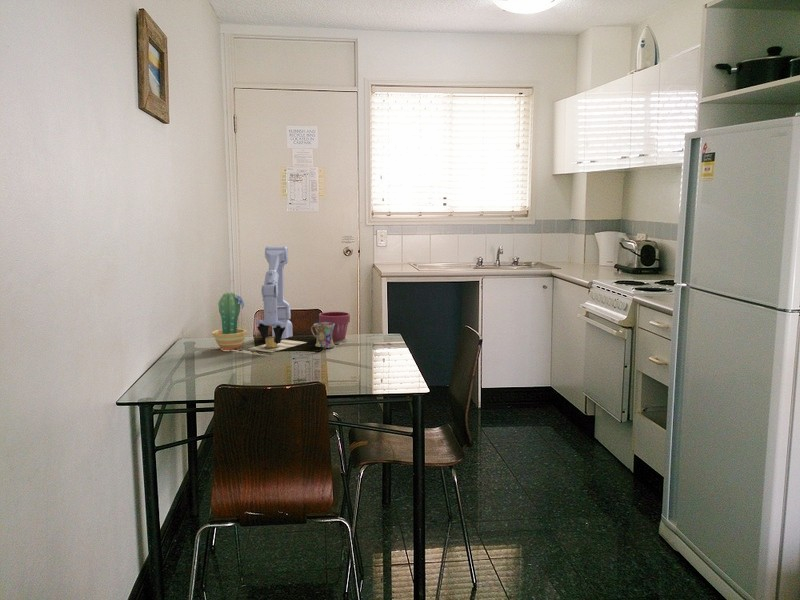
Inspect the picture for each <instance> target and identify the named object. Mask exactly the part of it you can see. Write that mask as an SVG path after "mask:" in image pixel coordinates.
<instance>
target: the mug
mask: <svg viewBox="0 0 800 600" xmlns="http://www.w3.org/2000/svg"><path fill="white" fill-rule="evenodd" d="M334 325H335V324H334V323H330V322H321V323H320V322H315V323H313V325H312V326H311V328H310V331H311V333H312V335H313V336H314V338H316V341H315V342H316V343H315V344H314V346H315V347H317V348H318V347H319V348H321V350H326V348H328V349H331V348H334V347H335V343H334V340H332V332H333V328H334ZM313 328H314V330H315V333H314V330H313Z"/></svg>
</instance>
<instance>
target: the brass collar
mask: <svg viewBox="0 0 800 600" xmlns="http://www.w3.org/2000/svg"><path fill="white" fill-rule="evenodd" d="M269 338H272V339H269ZM265 344H266V347H267V348H275V347H278V344H276V340H275V337H272V336H268V337H266V342H265Z"/></svg>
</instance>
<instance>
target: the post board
mask: <svg viewBox="0 0 800 600" xmlns="http://www.w3.org/2000/svg"><path fill="white" fill-rule="evenodd" d="M269 339H272V338H269ZM307 343H308V342H307V341H300V340H290V339H281V342H280V343H278V347H275V348H267V347H266V343H265V344H261V345H257V346H253V347H249V348H248V349H247V351H251V352H250V353H254V352H258V353H257V354H261V353H264V352H265V353H266V354H265V355H268V354H272V353H273V352H274V353H275V352H278V351H282V350H285V349H290V348H292V347H296V346H301V345H303V344H307ZM247 351H246V352H247Z"/></svg>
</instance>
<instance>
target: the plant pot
mask: <svg viewBox="0 0 800 600" xmlns="http://www.w3.org/2000/svg"><path fill="white" fill-rule="evenodd" d="M350 321H351V315H350V313H349V312H346V311H327V312H326V311H324V312H320V313H319V314H318V323H321V322H330V323H334V324H335V325H334V328H333V332H332V340H333V341H341V340H345V339H346V336H347V331H348V326H349V323H350Z"/></svg>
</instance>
